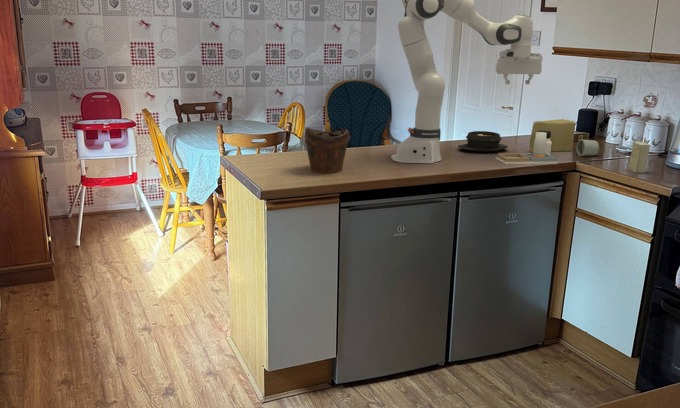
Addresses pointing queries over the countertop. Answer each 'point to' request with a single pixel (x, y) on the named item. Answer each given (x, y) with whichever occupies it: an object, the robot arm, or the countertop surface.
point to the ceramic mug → (587, 147)
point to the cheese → (555, 134)
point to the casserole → (483, 142)
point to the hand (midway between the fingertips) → (517, 84)
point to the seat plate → (524, 158)
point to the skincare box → (639, 157)
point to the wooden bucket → (326, 149)
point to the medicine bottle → (548, 142)
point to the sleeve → (540, 145)
